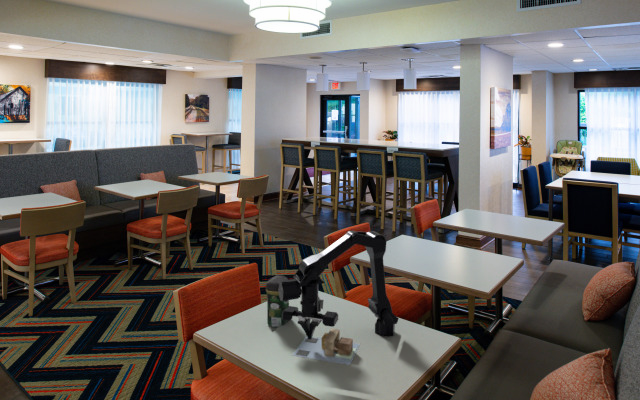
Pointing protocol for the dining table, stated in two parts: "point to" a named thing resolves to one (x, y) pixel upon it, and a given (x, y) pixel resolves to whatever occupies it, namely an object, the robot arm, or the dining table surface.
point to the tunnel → (331, 341)
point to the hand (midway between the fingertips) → (310, 339)
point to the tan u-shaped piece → (341, 345)
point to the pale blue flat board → (322, 351)
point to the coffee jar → (275, 302)
